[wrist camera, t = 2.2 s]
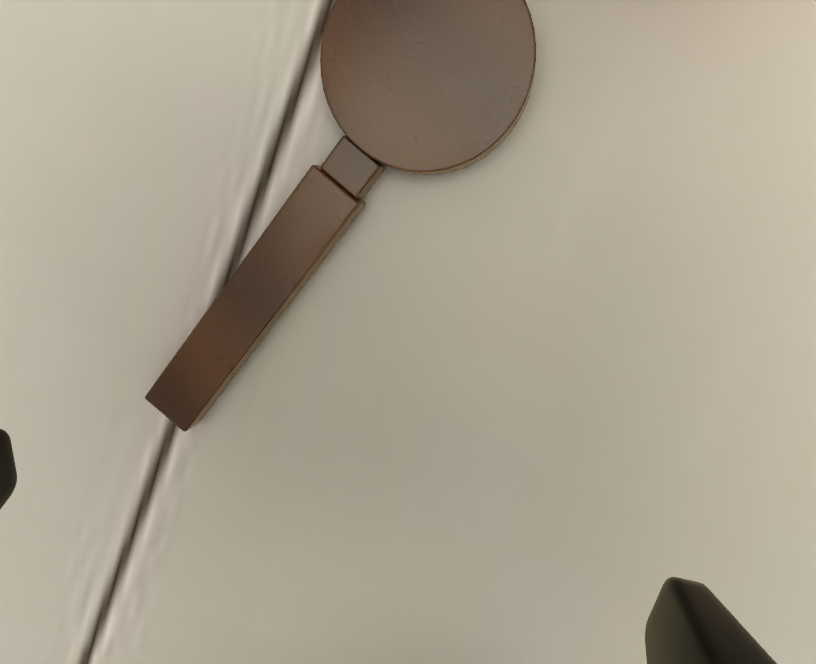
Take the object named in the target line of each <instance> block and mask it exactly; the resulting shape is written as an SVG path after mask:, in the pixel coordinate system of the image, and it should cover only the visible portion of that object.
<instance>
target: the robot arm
mask: <svg viewBox="0 0 816 664" xmlns="http://www.w3.org/2000/svg"><path fill="white" fill-rule="evenodd" d="M16 482H17V472H16V467H15V462H14V456H13V451H12V446H11V440H10V437H9V435H8V434H7V433H6V431H4V430H2V429H0V509H1V508H2V506H3V505H4V504H5V502H6V501H7V500H8V498H9V497H10V496H11V494H12V492H13V490H14V488H15V485H16ZM645 644H646V657H647V664H777V663H776V662H775V661H774V660H773V659H772V658H771V657H770V656H769V655H768V653H767V652H766V651H765V650H764V649H763V648H762V647H761V646H760V645H759V644H758V643H757V641H756V640H755V639H754V638H753V637H752V636H751V635H750V634H749V633H748V632H747V630H746V629H745V628H744V627H743V626H742V625H741V624H740V623H739V622H738V621H737V619H736V618H735V617H734V616H733V615H732V614H731V613H730V612H729V611H728V610H727V608H726V607H725V606H724V605H723V604H722V603H721V602H720V601H719V600H718V599H717V597H716V596H715V595H714V594H713V593H712V592H711V591H710V590H709V589H708V588H707V587H706V586H705V585H703V584H701V583H699V582H695V581H690V580H686V579H681V578H677V577H671V578H668V579H667V580H666V581H665V583H664V584H663V586H662V589H661V591H660V593H659V595H658V598H657V600H656V602H655V604H654V607H653V609H652V611H651V613H650V616H649V618H648V621H647V624H646V631H645Z"/></svg>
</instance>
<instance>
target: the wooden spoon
mask: <svg viewBox="0 0 816 664" xmlns="http://www.w3.org/2000/svg"><path fill="white" fill-rule="evenodd" d="M535 60H536V42H535V33H534V26H533V22H532V18H531V14H530V11H529V9H528V6H527V4H526V1H525V0H336V1H335V3H334V5H333V7H332V9H331V12H330V14H329V16H328V19H327V23H326V26H325V29H324V33H323V39H322V45H321V58H320V63H321V77H322V83H323V89H324V92H325V96H326V99H327V102H328V105H329V107H330V109H331V112H332V114H333V116H334V118H335V120H336V121H337V123H338V125H339V126H340V128H341V129H342V131H343V132H344V133H345V134H346V136H343V137H342V138H341V139H340V141H339V142H338V144H337V145H336V146H335V148H334V149H333V150H332V152H331V153H330V155H329V156H328V157H327V159H326V160H325V161H324V163H323V164H322V166H316V165H313V166H311V168H310V169H309V170H308V172H307V173H306V175H305V176H304V177H303V179H302V180H301V181H300V183H299V184H298V186H297V187H296V188H295V190H294V191H293V193H292V194H291V195H290V197H289V198H288V199H287V201H286V202H285V204H284V205H283V206H282V208H281V209H280V211H279V212H278V213H277V215H276V216H275V217H274V219H273V220H272V222H271V223H270V224H269V226H268V227H267V229H266V230H265V231H264V233H263V234H262V235H261V237H260V238H259V240H258V241H257V242H256V244H255V245H254V247H253V248H252V249H251V251H250V252H249V253H248V255H247V256H246V258H245V259H244V260H243V262H242V263H241V265H240V266H239V267H238V269H237V270H236V271H235V273H234V274H233V276H232V277H231V278H230V280H229V281H228V283H227V284H226V285H225V287H224V288H223V289H222V291H221V292H220V294H219V295H218V296H217V298H216V299H215V301H214V302H213V303H212V305H211V306H210V307H209V309H208V310H207V312H206V313H205V314H204V316H203V317H202V319H201V320H200V321H199V323H198V324H197V325H196V327H195V328H194V330H193V331H192V332H191V334H190V335H189V336H188V338H187V339H186V341H185V342H184V343H183V345H182V346H181V348H180V349H179V350H178V352H177V353H176V354H175V356H174V357H173V359H172V360H171V361H170V363H169V364H168V366H167V367H166V368H165V370H164V371H163V372H162V374H161V375H160V377H159V378H158V379H157V381H156V382H155V384H154V385H153V386H152V388H151V389H150V390H149V392H148V393H147V395H146V396H145V398H146V400H148V401H149V402H150V403H151V404H152V405H153V406H155V407H156V408H157V409H158V410H159V411H160V412H162V413H163V414H164V415H165V416H166V417H168V418H169V419H170V420H171V421H172V422H173V423H175V424H176V425H177V426H178V427H179V428H180V429H182V430H183V431H187V430H189V429H190V428H192V427H193V426H195V425H196V424H198V423H199V421H200V420H201V419H202V418H203V416H204V415H205V414H206V412H207V411H208V410H209V408H210V407H211V406H212V405H213V403H214V402H215V401H216V399H217V398H218V397H219V395H220V394H221V393H222V392H223V390H224V389H225V388H226V386H227V385H228V384H229V382H230V381H231V380H232V378H233V377H234V376H235V375H236V373H237V372H238V371H239V369H240V368H241V367H242V365H243V364H244V363H245V362H246V360H247V359H248V358H249V356H250V355H251V354H252V352H253V351H254V350H255V349H256V347H257V346H258V345H259V343H260V342H261V341H262V339H263V338H264V337H265V336H266V334H267V333H268V332H269V330H270V329H271V328H272V326H273V325H274V324H275V322H276V321H277V320H278V319H279V317H280V316H281V315H282V313H283V312H284V311H285V309H286V308H287V307H288V306H289V304H290V303H291V302H292V300H293V299H294V298H295V296H296V295H297V294H298V293H299V291H300V290H301V289H302V287H303V286H304V285H305V283H306V282H307V281H308V280H309V278H310V277H311V276H312V274H313V273H314V272H315V270H316V269H317V268H318V266H319V265H320V264H321V263H322V261H323V260H324V259H325V257H326V256H327V255H328V253H329V252H330V251H331V250H332V248H333V247H334V246H335V244H336V243H337V242H338V240H339V239H340V238H341V237H342V235H343V234H344V233H345V231H346V230H347V229H348V227H349V226H350V225H351V224H352V222H353V221H354V220H355V218H356V217H357V216H358V214H359V213H360V212H361V210H362V209H363V208H364V207H365V202H364V201H362V200H361V199H362V198H363V197H364V196H365V195H366V193H367V192H368V191H369V189H370V188H371V187H372V185H373V184H374V183H375V181H376V180H377V179H378V178H379V176H380V175H381V174H382V172H383V171H384V170H385V167H384V165H382V164H385V165H387V166H390V167H393V168H395V169H398V170H401V171H405V172H409V173H414V174H424V175H430V174H442V173H448V172H453V171H456V170H459V169H462V168H465V167H467V166H469V165H471V164H473V163H475V162H477V161H479V160H480V159H482V158H483V157H485V156H487V155H488V154H489V153H490V152H492V151H493V150H494V149H495V148H496V147H498V146H499V145H500V143H501V142H502V141H503V140H504V139H505V138H506V137H507V136H508V135H509V133H510V132H511V130H512V129H513V128H514V126H515V125H516V123H517V121H518V120H519V118H520V116H521V114H522V112H523V110H524V108H525V105H526V103H527V100H528V98H529V94H530V90H531V86H532V81H533V75H534V68H535ZM381 163H382V164H381Z"/></svg>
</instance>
